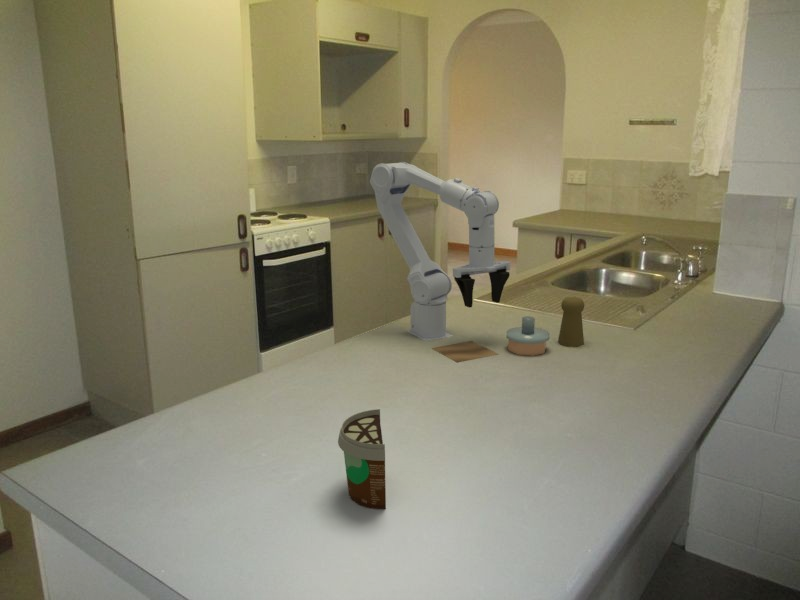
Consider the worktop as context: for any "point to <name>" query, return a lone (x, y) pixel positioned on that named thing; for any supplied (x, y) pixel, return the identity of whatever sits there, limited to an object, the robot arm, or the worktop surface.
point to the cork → (571, 322)
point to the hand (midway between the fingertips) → (482, 304)
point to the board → (464, 351)
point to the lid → (528, 332)
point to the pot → (526, 348)
